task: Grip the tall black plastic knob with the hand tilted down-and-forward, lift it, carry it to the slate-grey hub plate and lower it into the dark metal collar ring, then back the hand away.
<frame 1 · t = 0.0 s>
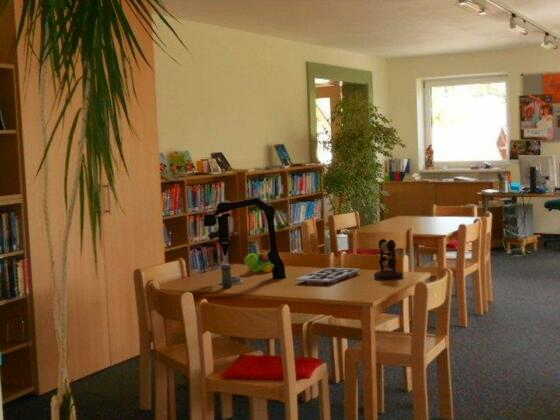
hand: (225, 254, 424), 15 cm above the table, fingers open, 9 cm apart
hub: (231, 282, 420), on the table
turtle toy: (261, 271, 452), on the table
maze game: (328, 280, 412), on the table
knob: (227, 287, 406), on the table
dark figurine on base: (388, 278, 405), on the table
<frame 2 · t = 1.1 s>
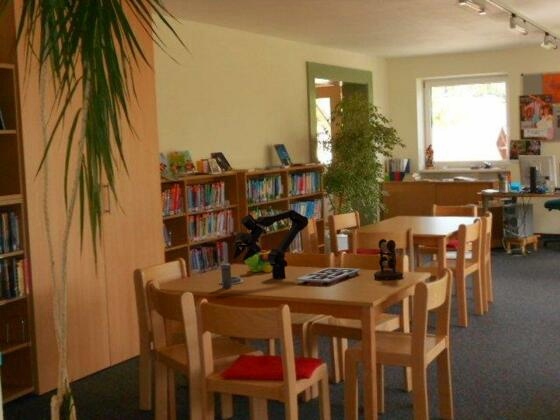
hand: (238, 259, 410), 13 cm above the table, fingers open, 9 cm apart
nothing on the table moved.
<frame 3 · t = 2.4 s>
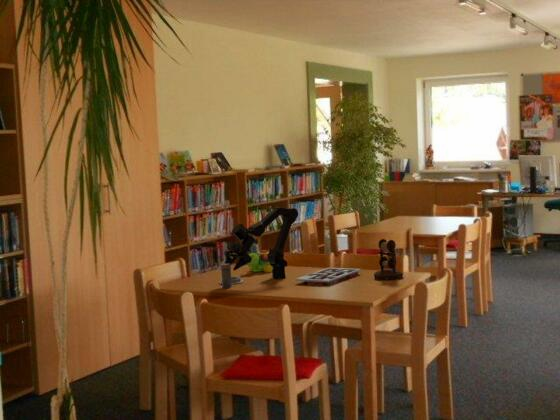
hand: (228, 269, 406), 9 cm above the table, fingers open, 9 cm apart
nothing on the table moved.
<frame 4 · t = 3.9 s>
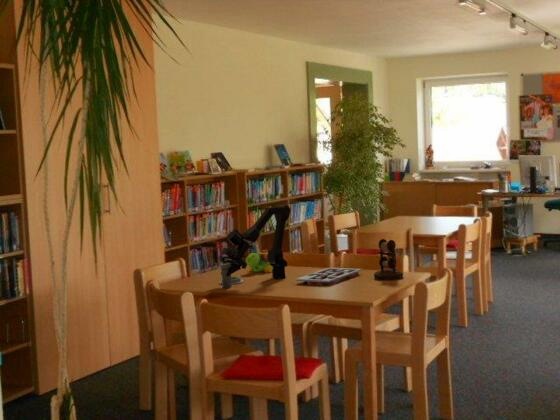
hand: (224, 275, 405), 7 cm above the table, fingers closed on knob, 5 cm apart
knob: (227, 287, 406), on the table, touching gripper
everything else where it was.
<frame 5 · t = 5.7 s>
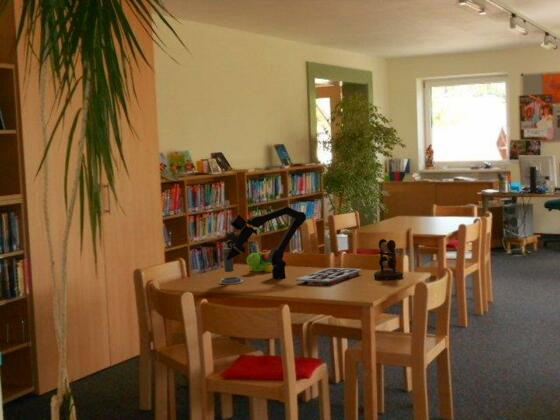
hand: (225, 259, 416), 13 cm above the table, fingers closed on knob, 5 cm apart
knob: (229, 271, 417), point 7 cm above the table, touching gripper
when the fingers open (9 cm above the table, at t = 7.4 s): knob drops 2 cm, resting on hub.
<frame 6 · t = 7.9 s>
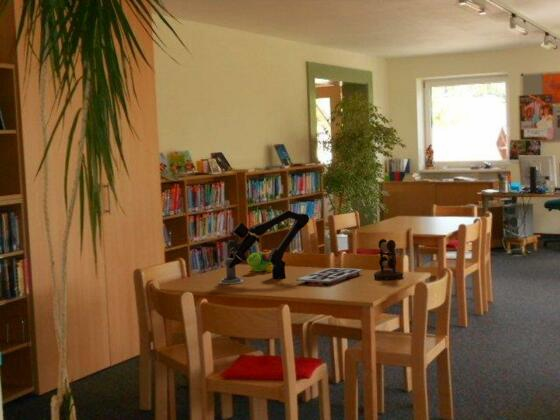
hand: (227, 266, 419), 9 cm above the table, fingers open, 9 cm apart
knob: (231, 281, 420), point 1 cm above the table, touching hub
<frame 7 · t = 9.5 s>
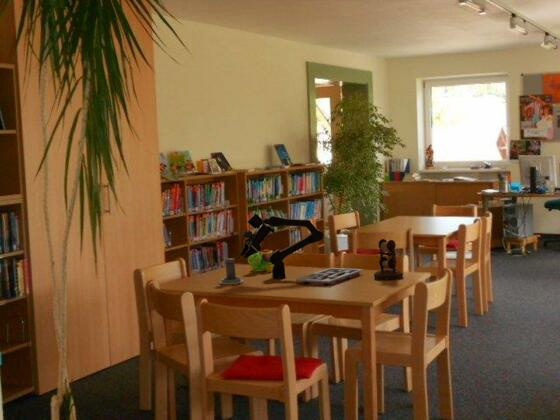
hand: (242, 256, 421), 13 cm above the table, fingers open, 9 cm apart
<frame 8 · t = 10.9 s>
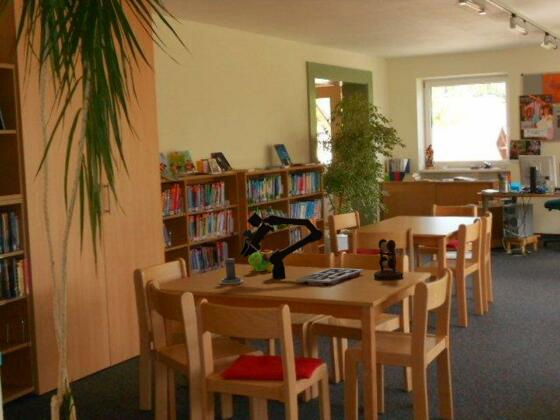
hand: (242, 255, 422), 14 cm above the table, fingers open, 9 cm apart
at the end: knob 0.1 cm from the hub (horizontally); knob tilted 0°; knob point 0.6 cm above the table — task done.
